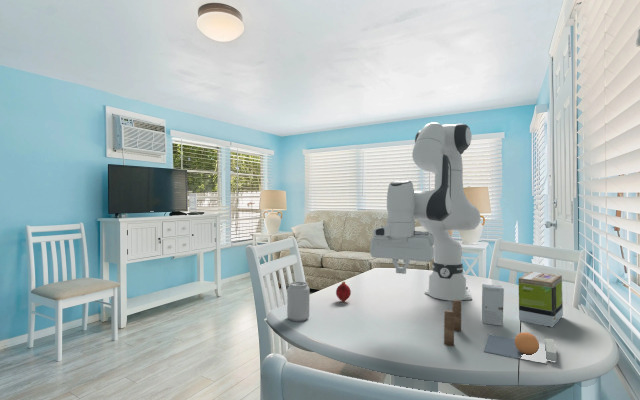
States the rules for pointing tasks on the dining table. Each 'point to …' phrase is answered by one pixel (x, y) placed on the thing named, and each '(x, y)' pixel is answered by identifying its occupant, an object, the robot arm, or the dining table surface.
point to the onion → (343, 292)
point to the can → (298, 301)
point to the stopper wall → (550, 349)
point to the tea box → (540, 298)
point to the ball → (526, 343)
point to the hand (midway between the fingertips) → (401, 273)
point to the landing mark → (502, 346)
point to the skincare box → (492, 304)
